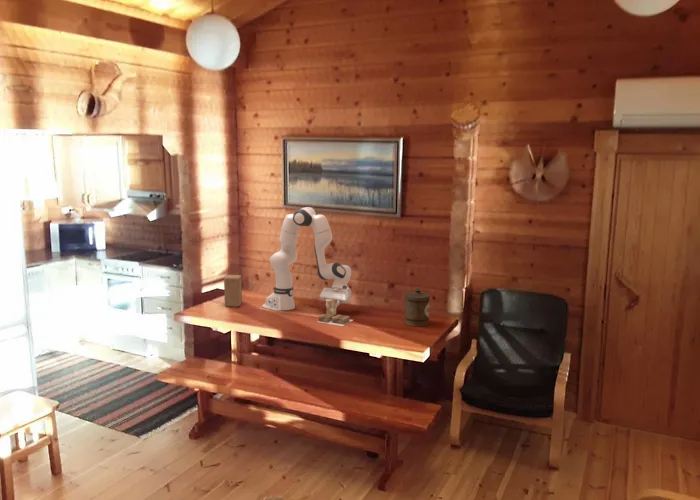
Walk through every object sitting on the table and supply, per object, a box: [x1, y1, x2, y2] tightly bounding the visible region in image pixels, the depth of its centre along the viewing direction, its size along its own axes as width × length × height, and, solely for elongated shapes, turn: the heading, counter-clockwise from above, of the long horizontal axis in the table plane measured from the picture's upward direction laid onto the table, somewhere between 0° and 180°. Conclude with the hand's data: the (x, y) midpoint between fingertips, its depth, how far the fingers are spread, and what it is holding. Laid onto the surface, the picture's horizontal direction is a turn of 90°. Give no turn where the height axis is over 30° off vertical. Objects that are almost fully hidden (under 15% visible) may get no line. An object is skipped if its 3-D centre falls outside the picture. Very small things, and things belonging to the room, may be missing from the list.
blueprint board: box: [316, 319, 354, 327], centre depth 365 cm, size 18×14×1 cm
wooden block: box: [223, 274, 243, 308], centre depth 402 cm, size 10×10×20 cm
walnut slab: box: [332, 314, 351, 325], centre depth 363 cm, size 8×8×3 cm
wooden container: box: [404, 287, 431, 327], centre depth 364 cm, size 15×15×22 cm
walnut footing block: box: [318, 313, 333, 323], centre depth 365 cm, size 6×6×3 cm
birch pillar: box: [325, 299, 337, 317], centre depth 377 cm, size 4×4×10 cm
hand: (330, 306), depth 376 cm, fingers closed on birch pillar, 4 cm apart
